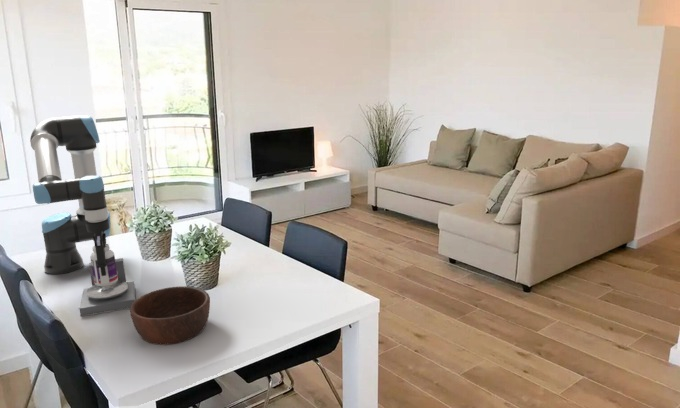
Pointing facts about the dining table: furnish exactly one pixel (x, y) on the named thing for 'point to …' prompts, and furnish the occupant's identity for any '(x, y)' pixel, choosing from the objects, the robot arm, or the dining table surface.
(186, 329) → the wooden bowl
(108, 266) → the pill bottle
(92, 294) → the scale pan
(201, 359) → the dining table surface
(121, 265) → the dial scale
